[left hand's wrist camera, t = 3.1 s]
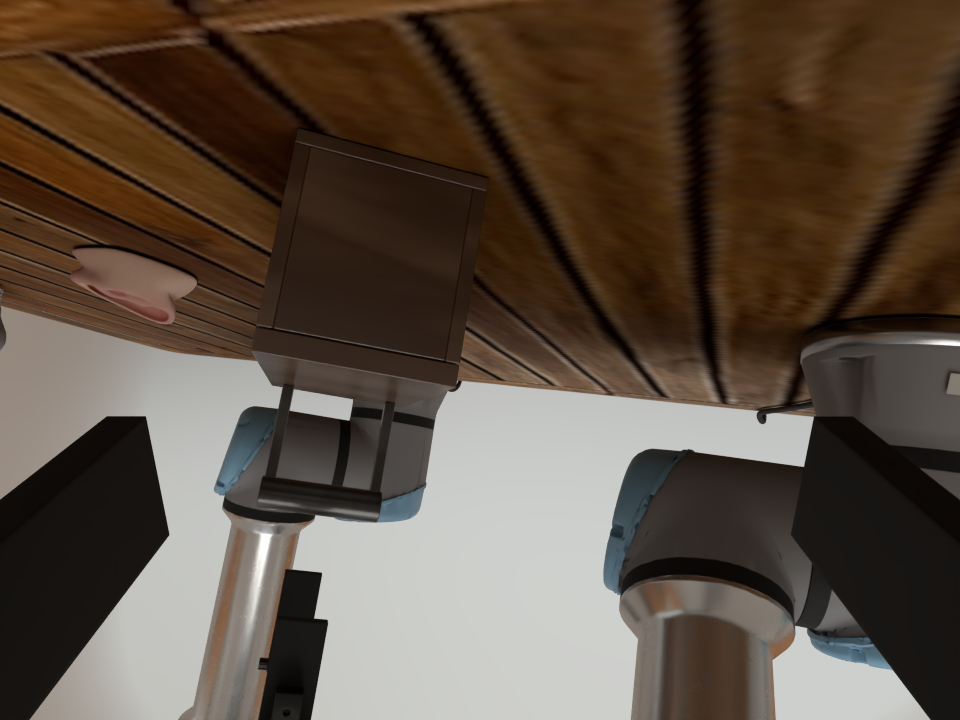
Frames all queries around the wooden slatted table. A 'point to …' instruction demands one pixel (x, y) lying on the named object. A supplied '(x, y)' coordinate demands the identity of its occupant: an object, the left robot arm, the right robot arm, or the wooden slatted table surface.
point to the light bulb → (2, 328)
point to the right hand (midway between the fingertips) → (303, 591)
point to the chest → (374, 250)
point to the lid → (349, 377)
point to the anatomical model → (132, 281)
